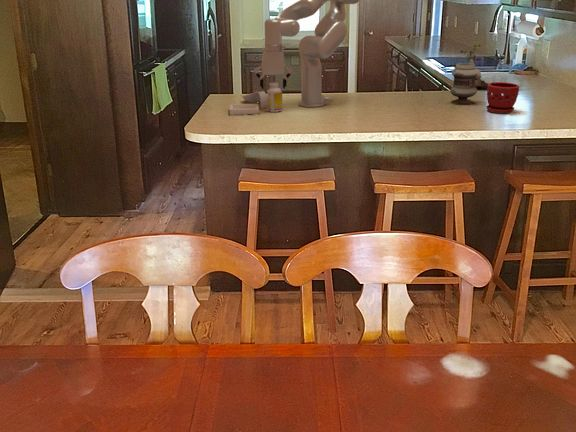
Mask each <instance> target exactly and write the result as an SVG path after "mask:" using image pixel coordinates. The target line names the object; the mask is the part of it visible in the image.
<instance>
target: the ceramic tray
mask: <svg viewBox="0 0 576 432" xmlns="http://www.w3.org/2000/svg"><path fill="white" fill-rule="evenodd" d="M244 114H259V115H260V107H259V103H238V104H236V103H234V104H229V116H230V115H233V116H245V115H244Z"/></svg>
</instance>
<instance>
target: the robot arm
mask: <svg viewBox="0 0 576 432" xmlns="http://www.w3.org/2000/svg"><path fill="white" fill-rule="evenodd" d="M329 1H330V2H329ZM360 1H361V0H298V1H296V2H294V3H293V4H291V5H289V6H288V7H286V8H285V9H282V11H280V13H278V14H277V15H276V17H274V19H271V18H270V19H268V18H267V19H266V20H265V21H264V51H263V52H262V56H261V65H259V66H257V67H255V68H254V69H253V72H254V73H255V75H256V78H258V79H259V82H260V83H259V87H260V88H261V89H262V90H263V89H264V77H265V76H281V77H283V79H282V89H286V87H287V80H288V79H289V77H290V76H291V75H292V73H293V71H294V70H293V68H291V67H290V66H287V65H286V64H285V54H284V51H283V50H286V46H285V45H283V37H291V38H292V37H295V36H297V35H298V33H300V30H301V26H300V23H299V22H298V21H299V20H303V19H307V18H309V17H311V16H314V15H315V14H316V13H317V11H319V10H320V8H321V7H322V6H324V4H326V3H327V2H329V3H330V4H329V9H328V11H327V13H326V14H325V15H324V16H323V17H322V18H321V20H320V21H319V22H318V23H317V25H316V26H315V27H314V28H315V29H314V35H305V36H303V37H302V38H301V39H300V41H299V43H298V52H299V57H300V75H301V76H300V77H301V79H300V80H301V81H300V82H301V83H300V85H301V88H300V89H301V93H300V94H301V101H298V103H297V104H298V105H297V106H298V107H299V106H300V107H302V106H303V108H305V107H306V108H319V107H323V106H325V105H326V103H325V102H331V101H332V96H324V95H323V93H322V79H323V78H322V73H323V72H322V68H323V67H322V62H321V60H320V59H322V60H323V59H327V58H330V56H332V55H333V54H334V53H335V51H336V50H337V49H338V48H339V47H340V45H341V44H342V43H343V41H344V40H345V39H346V36H347V33H348V32H347V31H348V28H347V25H346V23H345V22H344V21H345V19H346V15H347V12H346V5H356V4H358V3H359V2H360ZM260 70H261V74H260V73H259V72H258V71H260ZM285 70H287V71H288V73H287V74H285V73H286V72H285Z"/></svg>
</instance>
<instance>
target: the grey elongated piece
mask: <svg viewBox="0 0 576 432" xmlns="http://www.w3.org/2000/svg"><path fill="white" fill-rule="evenodd" d="M241 97H242V98H243V100H244V101H246V102H247V103H248V102H250V103H249V104H258V103H257V102H260V103H259V105H260V107H259V109H268V97H267V93H266V92H265V90H262V91H253V92H252V93H248V94H243V95H242V96H241Z"/></svg>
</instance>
